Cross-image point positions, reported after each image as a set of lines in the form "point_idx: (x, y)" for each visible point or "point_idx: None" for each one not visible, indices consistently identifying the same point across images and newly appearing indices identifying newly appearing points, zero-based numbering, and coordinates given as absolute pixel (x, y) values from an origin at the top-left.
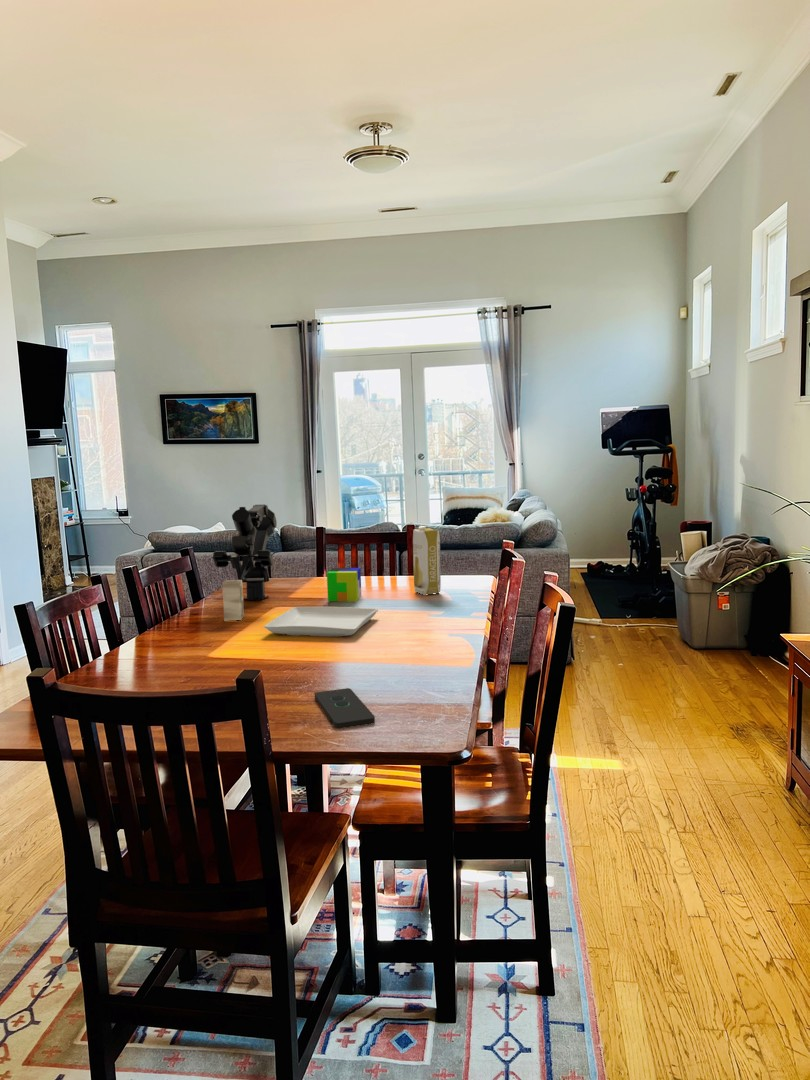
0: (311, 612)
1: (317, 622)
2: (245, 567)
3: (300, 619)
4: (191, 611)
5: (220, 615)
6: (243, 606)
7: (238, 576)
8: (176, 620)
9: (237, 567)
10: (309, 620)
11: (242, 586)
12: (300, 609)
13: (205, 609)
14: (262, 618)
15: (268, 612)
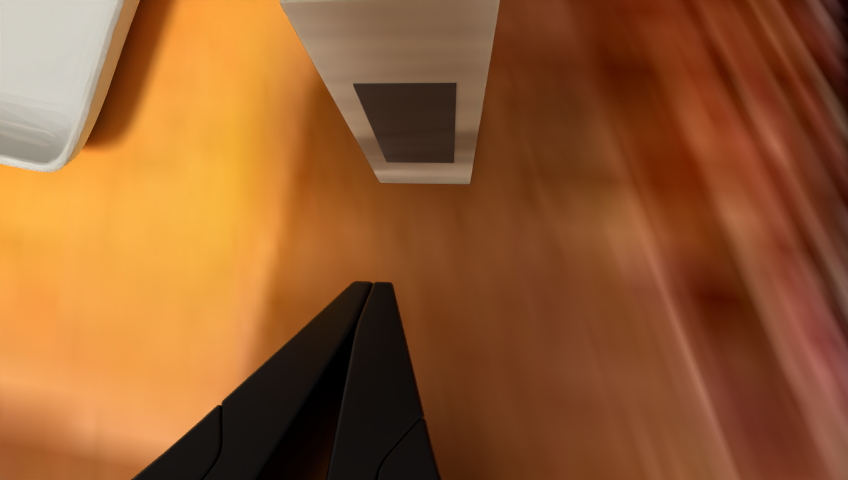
0: (3, 135)
1: (16, 15)
2: (158, 472)
3: (82, 67)
4: (788, 399)
5: (534, 248)
6: (365, 154)
7: (381, 302)
8: (770, 143)
9: (379, 466)
10: (45, 49)
11: (313, 61)
12: (41, 155)
13: (705, 457)
14: (277, 150)
15: (255, 297)
